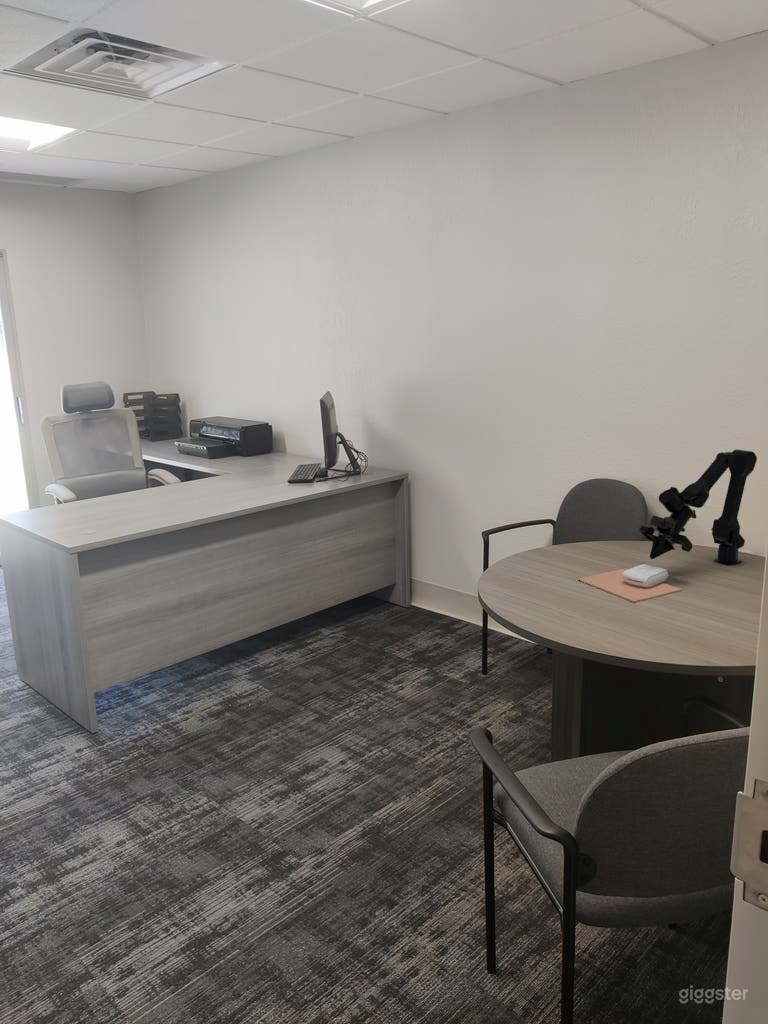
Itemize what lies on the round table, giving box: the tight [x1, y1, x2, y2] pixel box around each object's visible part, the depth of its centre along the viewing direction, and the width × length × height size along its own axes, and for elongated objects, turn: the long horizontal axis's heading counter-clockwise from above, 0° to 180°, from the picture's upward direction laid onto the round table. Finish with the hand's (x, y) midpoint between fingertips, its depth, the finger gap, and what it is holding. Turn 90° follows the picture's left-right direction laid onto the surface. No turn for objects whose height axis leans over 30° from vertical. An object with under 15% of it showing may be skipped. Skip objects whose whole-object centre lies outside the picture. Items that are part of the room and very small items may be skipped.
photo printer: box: [622, 563, 669, 587], centre depth 251 cm, size 10×4×12 cm
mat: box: [577, 568, 683, 603], centre depth 251 cm, size 20×26×1 cm
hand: (651, 558), depth 253 cm, fingers closed
